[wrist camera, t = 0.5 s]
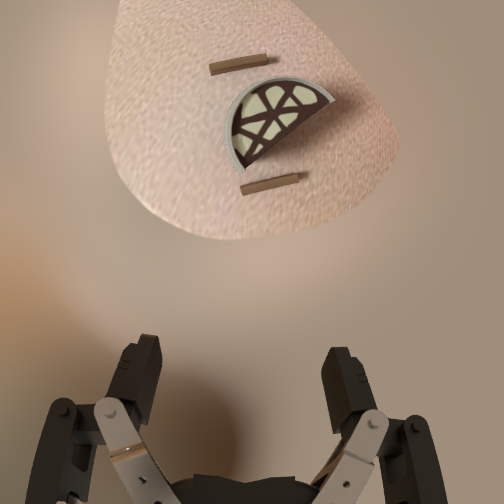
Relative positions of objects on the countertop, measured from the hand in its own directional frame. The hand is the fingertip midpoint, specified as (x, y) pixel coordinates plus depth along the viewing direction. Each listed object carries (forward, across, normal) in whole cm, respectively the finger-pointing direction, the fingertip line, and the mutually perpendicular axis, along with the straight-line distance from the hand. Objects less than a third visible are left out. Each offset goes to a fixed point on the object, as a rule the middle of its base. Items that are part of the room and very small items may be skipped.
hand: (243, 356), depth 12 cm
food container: (+27, 0, -9) cm, 29 cm away
